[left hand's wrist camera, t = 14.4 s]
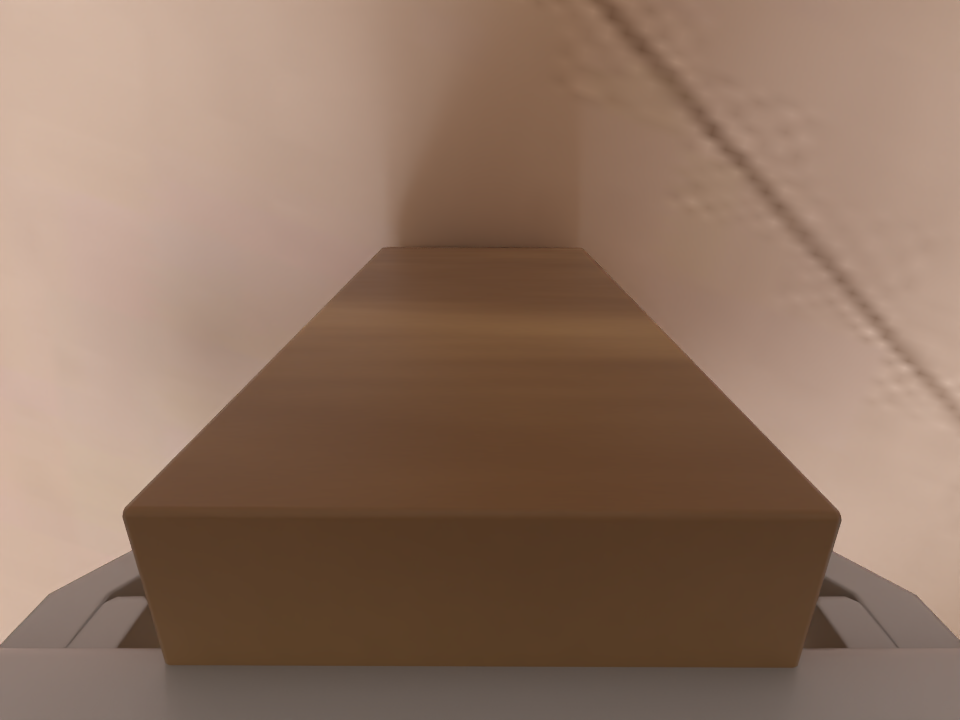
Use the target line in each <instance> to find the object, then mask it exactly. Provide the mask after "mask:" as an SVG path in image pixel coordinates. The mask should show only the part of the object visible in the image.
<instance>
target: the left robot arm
mask: <svg viewBox="0 0 960 720" xmlns="http://www.w3.org/2000/svg"><path fill="white" fill-rule="evenodd" d="M0 720H960V640H959V639H958V638H957V637H956V636H955V635H954V634H953V633H952V632H951V631H950V630H949V629H948V628H947V627H946V626H945V625H944V624H943V623H942V622H941V620H940V619H939V618H938V617H937V616H936V615H935V614H934V613H933V612H932V611H931V610H930V609H929V608H928V607H927V606H926V605H925V604H924V603H923V602H922V601H921V600H920V599H919V598H918V597H917V596H916V595H915V594H913V593H911V592H909V591H907V590H906V589H904V588H902V587H900V586H898V585H896V584H894V583H892V582H890V581H888V580H887V579H885V578H883V577H881V576H879V575H877V574H875V573H873V572H871V571H869V570H868V569H866V568H864V567H862V566H860V565H858V564H856V563H854V562H852V561H850V560H849V559H847V558H845V557H843V556H841V555H839V554H837V553H835V552H833V551H832V554H831V557H830V560H829V563H828V567H827V570H826V573H825V577H824V580H823V583H822V587H821V590H820V593H819V597H818V600H817V603H816V606H815V610H814V613H813V616H812V620H811V623H810V626H809V630H808V633H807V636H806V640H805V643H804V646H803V650H802V653H801V656H800V659H799V663H798V666H796V667H794V668H718V667H482V666H250V665H168V664H166V663H165V660H164V657H163V653H162V650H161V646H160V643H159V640H158V636H157V633H156V629H155V626H154V623H153V619H152V616H151V612H150V609H149V606H148V602H147V599H146V595H145V592H144V588H143V585H142V582H141V578H140V575H139V571H138V568H137V565H136V561H135V558H134V554H133V551H130V552H128V553H126V554H124V555H122V556H120V557H119V558H117V559H115V560H113V561H111V562H109V563H107V564H105V565H103V566H101V567H100V568H98V569H96V570H94V571H92V572H90V573H88V574H86V575H84V576H82V577H81V578H79V579H77V580H75V581H73V582H71V583H69V584H67V585H65V586H64V587H62V588H60V589H58V590H56V591H54V592H52V593H50V594H49V595H48V596H47V597H46V598H45V599H44V600H43V601H42V602H41V603H40V604H39V605H38V606H37V607H36V608H35V609H34V610H33V611H32V612H31V613H30V614H29V615H28V617H27V618H26V619H25V620H24V621H23V622H22V623H21V624H20V625H19V626H18V627H17V628H16V629H15V630H14V631H13V632H12V633H11V634H10V635H9V636H8V637H7V638H6V639H5V640H4V642H3V643H2V644H1V645H0Z"/></svg>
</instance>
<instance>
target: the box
mask: <svg viewBox="0 0 960 720" xmlns="http://www.w3.org/2000/svg"><path fill="white" fill-rule="evenodd" d="M123 520H124V524H125V527H126V530H127V534H128V537H129V541H130V544H131V548H132V551H133V554H134V558H135V561H136V565H137V568H138V571H139V575H140V578H141V582H142V585H143V588H144V592H145V595H146V599H147V602H148V606H149V609H150V612H151V616H152V619H153V623H154V626H155V629H156V633H157V636H158V640H159V643H160V646H161V650H162V653H163V657H164V660H165V663H166V664H168V665H250V666H482V667H718V668H794V667H796V666H798V663H799V659H800V656H801V653H802V650H803V646H804V643H805V640H806V636H807V633H808V630H809V626H810V623H811V620H812V616H813V613H814V610H815V606H816V603H817V600H818V597H819V593H820V590H821V587H822V583H823V580H824V577H825V573H826V570H827V567H828V563H829V560H830V557H831V554H832V550H833V547H834V544H835V540H836V537H837V534H838V530H839V527H840V524H841V515H840V513H839V511H838V510H837V509H836V508H835V507H834V506H833V505H832V504H831V503H830V502H829V501H828V499H827V498H826V497H825V496H824V495H823V494H822V493H821V492H820V491H819V490H818V489H817V488H816V487H815V486H814V485H813V484H812V483H811V482H810V481H809V480H808V479H807V478H806V477H805V476H804V475H803V474H802V473H801V472H800V471H799V470H798V469H797V468H796V467H795V466H794V465H793V464H792V463H791V462H790V461H789V459H788V458H787V457H786V456H785V455H784V454H783V453H782V452H781V451H780V450H779V449H778V448H777V447H776V446H775V445H774V444H773V443H772V442H771V441H770V440H769V439H768V438H767V437H766V436H765V435H764V434H763V433H762V432H761V431H760V430H759V429H758V428H757V427H756V426H755V425H754V424H753V423H752V422H751V421H750V419H749V418H748V417H747V416H746V415H745V414H744V413H743V412H742V411H741V410H740V409H739V408H738V407H737V406H736V405H735V404H734V403H733V402H732V401H731V400H730V399H729V398H728V397H727V396H726V395H725V394H724V393H723V392H722V391H721V390H720V389H719V388H718V387H717V386H716V385H715V384H714V383H713V382H712V381H711V379H710V378H709V377H708V376H707V375H706V374H705V373H704V372H703V371H702V370H701V369H700V368H699V367H698V366H697V365H696V364H695V363H694V362H693V361H692V360H691V359H690V358H689V357H688V356H687V355H686V354H685V353H684V352H683V351H682V350H681V349H680V348H679V347H678V346H677V345H676V344H675V343H674V342H673V341H672V339H671V338H670V337H669V336H668V335H667V334H666V333H665V332H664V331H663V330H662V329H661V328H660V327H659V326H658V325H657V324H656V323H655V322H654V321H653V320H652V319H651V318H650V317H649V316H648V315H647V314H646V313H645V312H644V311H643V310H642V309H641V308H640V307H639V306H638V305H637V304H636V303H635V302H634V301H633V299H632V298H631V297H630V296H629V295H628V294H627V293H626V292H625V291H624V290H623V289H622V288H621V287H620V286H619V285H618V284H617V283H616V282H615V281H614V280H613V279H612V278H611V277H610V276H609V275H608V274H607V273H606V272H605V271H604V270H603V269H602V268H601V267H600V266H599V265H598V264H597V263H596V262H595V261H594V259H593V258H592V257H591V256H590V255H589V254H588V253H587V252H586V251H585V250H584V249H582V248H410V247H384V248H382V249H381V250H380V251H379V252H378V253H377V254H376V255H375V256H374V257H373V258H372V259H371V260H370V261H369V262H368V263H367V264H366V265H365V266H364V267H363V268H362V269H361V270H360V271H359V272H358V273H357V274H356V275H355V276H354V277H353V278H352V279H351V280H350V281H349V282H348V283H347V284H346V285H345V286H344V287H343V288H342V289H341V290H340V291H339V292H338V293H337V294H336V295H335V296H334V297H333V298H332V299H331V300H330V301H329V302H328V303H327V304H326V305H325V306H324V308H323V309H322V310H321V311H320V312H319V313H318V314H317V315H316V316H315V317H314V318H313V319H312V320H311V321H310V322H309V323H308V324H307V325H306V326H305V327H304V328H303V329H302V330H301V331H300V332H299V333H298V334H297V335H296V336H295V337H294V338H293V339H292V340H291V341H290V342H289V343H288V344H287V345H286V346H285V347H284V348H283V349H282V350H281V351H280V352H279V353H278V354H277V355H276V356H275V357H274V358H273V359H272V360H271V361H270V362H269V363H268V364H267V365H266V366H265V367H264V368H263V369H262V370H261V371H260V372H259V373H258V374H257V375H256V376H255V377H254V378H253V379H252V380H251V381H250V382H249V383H248V384H247V385H246V386H245V387H244V388H243V389H242V390H241V391H240V392H239V393H238V394H237V395H236V396H235V397H234V398H233V399H232V400H231V401H230V402H229V403H228V404H227V405H226V406H225V407H224V408H223V409H222V410H221V411H220V412H219V413H218V414H217V415H216V416H215V417H214V418H213V419H212V420H211V421H210V422H209V423H208V424H207V425H206V426H205V427H204V428H203V429H202V430H201V431H200V432H199V434H198V435H197V436H196V437H195V438H194V439H193V440H192V441H191V442H190V443H189V444H188V445H187V446H186V447H185V448H184V449H183V450H182V451H181V452H180V453H179V454H178V455H177V456H176V457H175V458H174V459H173V460H172V461H171V462H170V463H169V464H168V465H167V466H166V467H165V468H164V469H163V470H162V471H161V472H160V473H159V474H158V475H157V476H156V477H155V478H154V479H153V480H152V481H151V482H150V483H149V484H148V485H147V486H146V487H145V488H144V489H143V490H142V491H141V492H140V493H139V494H138V495H137V496H136V497H135V498H134V499H133V500H132V501H131V502H130V503H129V504H128V505H127V506H126V507H125V509H124V511H123Z"/></svg>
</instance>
